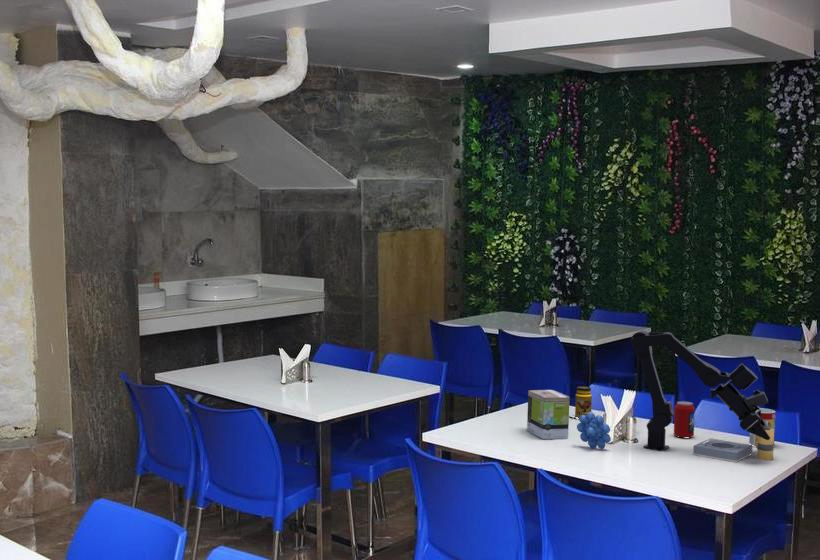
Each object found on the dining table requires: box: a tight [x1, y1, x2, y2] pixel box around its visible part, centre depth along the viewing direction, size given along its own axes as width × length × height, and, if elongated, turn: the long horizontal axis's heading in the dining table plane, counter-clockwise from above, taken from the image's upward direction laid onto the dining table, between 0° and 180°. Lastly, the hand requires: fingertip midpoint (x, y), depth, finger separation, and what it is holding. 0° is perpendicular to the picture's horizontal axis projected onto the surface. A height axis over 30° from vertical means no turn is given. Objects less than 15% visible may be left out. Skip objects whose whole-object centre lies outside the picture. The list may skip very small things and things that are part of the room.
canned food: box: [748, 407, 776, 446], centre depth 319 cm, size 8×8×12 cm
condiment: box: [574, 385, 593, 418], centre depth 359 cm, size 7×8×12 cm
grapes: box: [576, 411, 612, 450], centre depth 311 cm, size 12×7×12 cm, turn 60°
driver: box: [756, 421, 775, 461], centre depth 302 cm, size 5×5×12 cm
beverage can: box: [673, 400, 696, 438], centre depth 330 cm, size 7×7×12 cm
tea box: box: [526, 389, 571, 440], centre depth 331 cm, size 15×10×15 cm
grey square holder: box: [692, 438, 753, 463], centre depth 306 cm, size 14×14×3 cm
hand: (769, 436), depth 301 cm, fingers open, 9 cm apart
